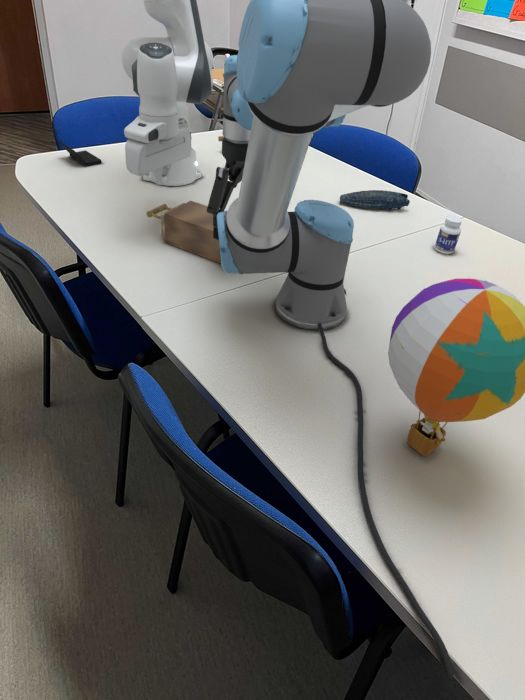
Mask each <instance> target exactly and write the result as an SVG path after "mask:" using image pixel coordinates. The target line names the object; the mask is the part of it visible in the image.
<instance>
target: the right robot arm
mask: <svg viewBox="0 0 525 700" xmlns="http://www.w3.org/2000/svg"><path fill="white" fill-rule="evenodd" d="M431 58H432V43H431V39H430V34H429V30H428V28H427V25H426V23H425V21H424V20H423V19H422V17H421V15H420V14H419V13H418V12H417V11H416V10H415V9H414V8H413V7H412V6H411V5H409V4H408V3H406V2H405V1H404V0H250V1H249V2H248V4H247V7H246V10H245V12H244V15H243V20H242V22H241V27H240V31H239V38H238V51H237V54H234V55H229V56H227V57H226V58H225V60H224V65H223V73H222V77H223V99H222V101H223V103H222V105H223V106H222V109H223V110H222V133H221V135H222V136H224V138H223V139H222V141H221V155H222V157H223V158H224V160H225V165H224V167H221V166H217V167H216V169H215V178H214V181H213V185H212V189H211V192H210V196H209V200H208V204H207V206H208V207H207V212H208V213H210V214H213V238H215V239H217V240H219V246H220V256H221V264H220V265H221V269H222V271H224V272H225V273H226V274H238V275H248V274H249V275H250V274H275V273H277V274H278V273H287V275H286V278H285V279H284V282H283V283H282V285H281V287H280V290H279V291H278V294H277V296H276V300H275V311H276V313H277V315H278V316H279V317H280V318H281V319H282V320H283V321H284V322H286V323H287V324H289V325H291V326H293V327H296V328H300V329H304V330H310V331H318V332H319V335H320V337H321V342H322V347H323V350H324V352H325V354H326V355H327V357H328V358H329V360H331V361H332V362H333V363H334V364H335V365H336V366H338V367H339V368H340V369H342V370H343V371H344V372H345V373H346V374H347V375H348V376H349V377H350V378H351V380H352V382H353V383H354V386H355V389H356V393H357V395H356V396H357V414H358V415H357V417H358V427H357V428H358V429H357V430H358V431H357V474H358V475H357V479H358V486H359V492H360V498H361V503H362V508H363V510H364V514H365V518H366V521H367V525H368V526H369V529H370V532H371V535H372V537H373V539H374V541H375V544H376V546H377V548H378V550H379V553H380V554H381V556H382V558H383V560H384V562H385V564H386V566H387V567H388V569H389V571H390V573H392V575H393V577H394V579H395V580H396V582H397V583H398V584H399V586H400V588H401V590H402V591H403V592H404V595H405V596H406V597H407V600H408V601H409V603H410V606H411V607H412V608H413V610H414V612H415V613H416V615H417V616H418V617H419V619H420V621H421V622H422V624H423V625H424V627H425V629H427V631H428V632H429V634H430V636H431V638H432V639H433V641H434V643H435V645H436V646H437V648H438V651H439V654H440V656H441V658H442V662H443V666H444V670H445V671H444V673H445V675H446V677H447V678H448V679H450V680H452V679H453V678H454V671H453V664H452V662H451V658H450V654H449V652H448V649H447V647H446V645H445V643H444V641H443V639H442V637H441V635H440V633H439V632H438V630H437V629H436V627H435V626H434V625H433V624H432V622H431V620H430V619H429V617H428V616H427V615H426V613H425V612H424V610H423V609H422V607H421V605H420V604H419V602H418V600H417V599H416V597H415V595H414V594H413V592H412V590H411V589H410V587H409V585H408V584H407V581H406V580H405V579H404V578H403V576H402V575H401V573H400V571H399V569H398V568H397V566H396V565H395V563H394V562H393V559H392V558H391V557H390V554H389V553H388V550H387V549H386V547H385V545H384V543H383V541H382V539H381V536H380V534H379V530H378V529H377V527H376V524H375V521H374V518H373V515H372V511H371V507H370V504H369V499H368V494H367V489H366V484H365V483H366V482H365V474H364V423H365V422H364V421H365V420H364V403H363V391H362V387H361V384H360V381H359V379H358V378H357V376H356V375H355V373H354V372H353V371H352V370H351V369H350V368H349V367H348V366H346V365H345V364H344V363H343V362H342V361H340V360H339V359H338V358H336V357H335V356H334V354H332V352H331V351H330V349H329V346H328V343H327V337H326V334H325V332H324V330H325V331H326V330H329V329H333V328H336V327H337V326H339V325H340V324H342V323H343V322H344V320H345V318H346V315H347V310H348V309H347V308H348V307H347V306H348V305H347V297H346V296H348V295H347V289H345V286H344V280H345V275H346V271H347V267H348V261H349V257H350V253H351V252H350V251H351V247H352V244H353V241H354V239H353V236H354V235H353V234H354V228H355V221H354V219H353V217H352V216H351V214H350V213H349V212H348V211H346V210H345V209H343V208H342V207H341V206H338V205H336V204H333V203H331V202H328V201H323V200H319V199H303V200H301V201H299V202H297V204H296V206H295V207H294V211H288V209H289V206H290V203H291V201H292V197H293V194H294V192H295V188H296V186H297V181H298V179H299V176H300V174H301V170H302V167H303V165H304V161H305V159H306V155H307V152H308V149H309V147H310V145H311V144H310V143H311V140H312V138H313V134H314V133H316V132H318V131H319V130H322V128H329V127H339V126H341V125H342V124H343V122H344V120H345V118H346V116H347V115H348V114H351V113H352V112H353V113H354V112H355V111H357V110H361V109H362V108H363V109H364V108H365V107H369V106H371V107H375V108H383V107H388V106H391V105H393V104H397V103H399V102H401V101H403V100H406V99H407V98H409V97H410V96H411V95H412V94H413V93H415V91H417V90H418V88H420V86H421V85H422V83H423V82H424V79H425V78H426V76H427V73H428V71H429V68H430V65H431ZM239 183H240V188H239V192H238V197H237V198H236V199H234V200H233V201H232V203H231V204H230V205H229V207H228V209H227V210H226V207H227V205H228V203H229V201H230V198H231V196H232V194H233V192H234V189H235V188H237V187H238V185H239Z"/></svg>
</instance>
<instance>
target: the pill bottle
mask: <svg viewBox="0 0 525 700" xmlns="http://www.w3.org/2000/svg"><path fill="white" fill-rule="evenodd" d="M462 222H463V219H461V218H460V217H458V216H455V215H448V216H446V218H445V220H444V223H443V224H442V225H440V228H439V231H438V234H437V237H436V240H435V243H434V250H435V251H437V252H439V253H441V254H447V255H449V254H453V253H454V252H455V250H456V247H457V244H458V242H459V239H460V236H461V233H462V229H461V225H462Z"/></svg>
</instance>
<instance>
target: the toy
mask: <svg viewBox="0 0 525 700" xmlns="http://www.w3.org/2000/svg"><path fill="white" fill-rule="evenodd" d="M387 355H388V365H389V367H390V369H391V372H392V375H393V377H394V379H395V381H396V383H397V385H398V388H399V389H400V391H401V392H402V393H403V394H404V396H405V397H406V398H407V399H408V400H409V401H410V403H412V405H413V406H415V407H416V408H417V409H418V410H419V411H418V418H417V420H416V423H411V424H410V429H409V431H408V434H407V439H406V443H407V445H408V446H409V447H410V448H412V449H413V450H414V451H416V452H417V453H418V454H420V455H421V456H422V457H424V458H426V457H428V456H429V455H430V454H431V453H433V452H434V451H435V450H437V449H438V448H439V447H440V446H441V444H442V443H443V442H445V441H446V434H447V432H446V430H445V427H446V425H447V424H448V423H461V422H472V421H479V420H486V419H488V418H489V417H492V416H494V415H496V414H498V413H501V412H503V411H505V410H508V409H509V408H511V407H513V406H514V405H515V404H516V403H518V402H519V401H520V400H521V399H522V397H523V396H524V395H525V305H524V304H523V303H522V301H521V300H520V299H519V298H518V297H517V296H516V295H515V294H513V293H511V292H510V291H508V290H507V289H505V288H503V287H502V286H500V285H498V284H495V283H492V282H491V281H487V280H482V279H477V278H452V279H448V280H445V281H441V282H437V283H435V284H431V285H429V286H428V287H426V288H423V289H421V291H420V292H419V293H417V294H416V295H415V296H414V297H413V298H411V300H409V302H407V303H406V304H405V305H404V306H403V307H402V309H401V310H400V311H399V313H398V314H397V315H396V317H395V319H394V321H393V324H392V326H391V333H390V337H389V344H388V351H387ZM421 414H423V418H422V419H420V418H421ZM440 423H444V425H443V426H442V427H441V424H440Z"/></svg>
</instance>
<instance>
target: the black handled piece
mask: <svg viewBox="0 0 525 700" xmlns="http://www.w3.org/2000/svg"><path fill="white" fill-rule="evenodd" d="M57 142H58V143H59V144H60V146H61V147H62V148H63V149H65V150H66V152H67V153H68V154H69V157H71V158H72V159H74V160H76V161H77V162H79V163H80V164H81V165H83V166H85V167H87V166H92V165H98V164H102V162H103V161H102V159H101V158H99V157H98V156H96V155H94V154H92V153H90V151H88V150H86V149H85V150H81V151H75V150H74V149H73V148H71V147H70V146H68V145H67V144H65V143H63V142H62V141H60V140H57Z"/></svg>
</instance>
